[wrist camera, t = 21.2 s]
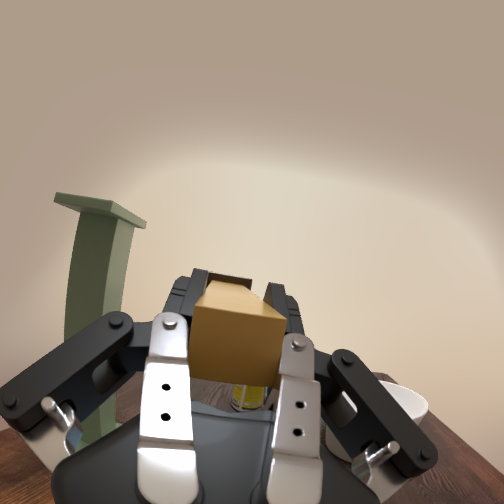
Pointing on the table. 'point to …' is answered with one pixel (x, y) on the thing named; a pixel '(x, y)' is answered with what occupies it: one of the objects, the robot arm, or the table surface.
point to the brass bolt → (234, 334)
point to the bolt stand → (97, 281)
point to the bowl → (405, 398)
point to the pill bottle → (247, 397)
